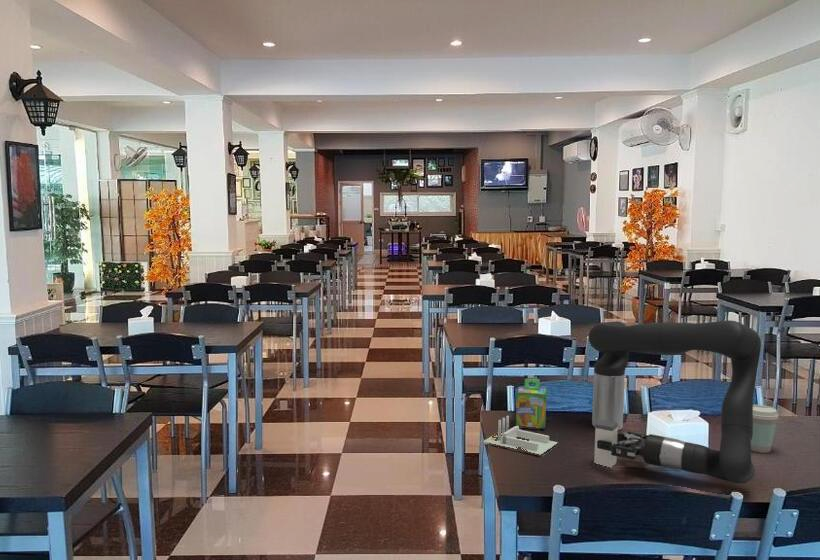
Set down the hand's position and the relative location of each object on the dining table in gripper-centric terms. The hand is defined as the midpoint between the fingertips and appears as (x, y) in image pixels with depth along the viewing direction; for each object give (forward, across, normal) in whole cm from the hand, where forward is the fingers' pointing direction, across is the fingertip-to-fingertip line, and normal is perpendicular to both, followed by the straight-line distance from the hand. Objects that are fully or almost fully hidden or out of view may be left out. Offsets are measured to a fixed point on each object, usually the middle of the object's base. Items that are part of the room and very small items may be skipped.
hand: (603, 439), depth 179 cm
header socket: (+24, 0, +6) cm, 25 cm away
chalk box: (+29, -18, +7) cm, 35 cm away
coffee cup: (-33, -37, +7) cm, 50 cm away
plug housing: (-1, 0, +6) cm, 7 cm away
